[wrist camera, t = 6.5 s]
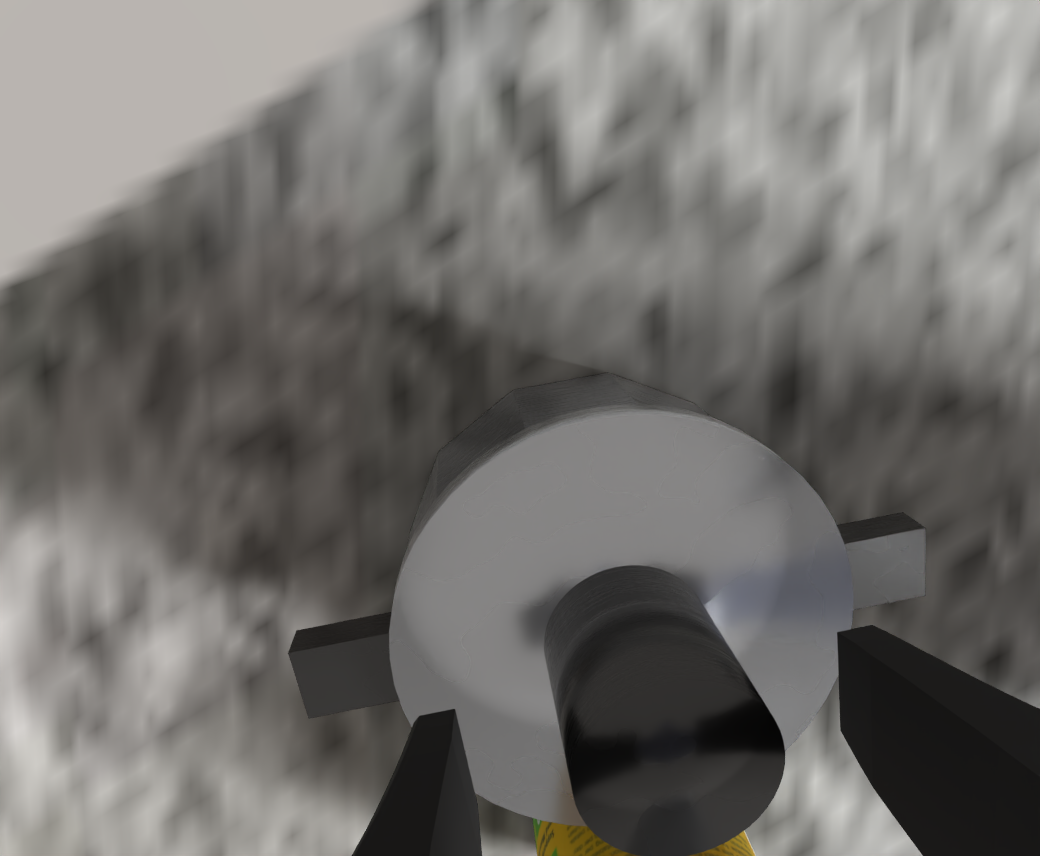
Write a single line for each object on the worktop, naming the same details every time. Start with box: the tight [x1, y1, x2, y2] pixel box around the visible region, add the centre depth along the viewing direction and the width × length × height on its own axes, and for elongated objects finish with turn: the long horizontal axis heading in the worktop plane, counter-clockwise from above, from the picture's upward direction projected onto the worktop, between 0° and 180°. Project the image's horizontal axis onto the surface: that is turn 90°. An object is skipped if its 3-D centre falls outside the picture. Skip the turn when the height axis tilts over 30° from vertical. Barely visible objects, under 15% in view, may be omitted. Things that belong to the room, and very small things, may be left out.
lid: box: [389, 404, 854, 856], centre depth 13 cm, size 9×9×4 cm
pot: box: [288, 373, 926, 718], centre depth 17 cm, size 13×9×4 cm, turn 99°
